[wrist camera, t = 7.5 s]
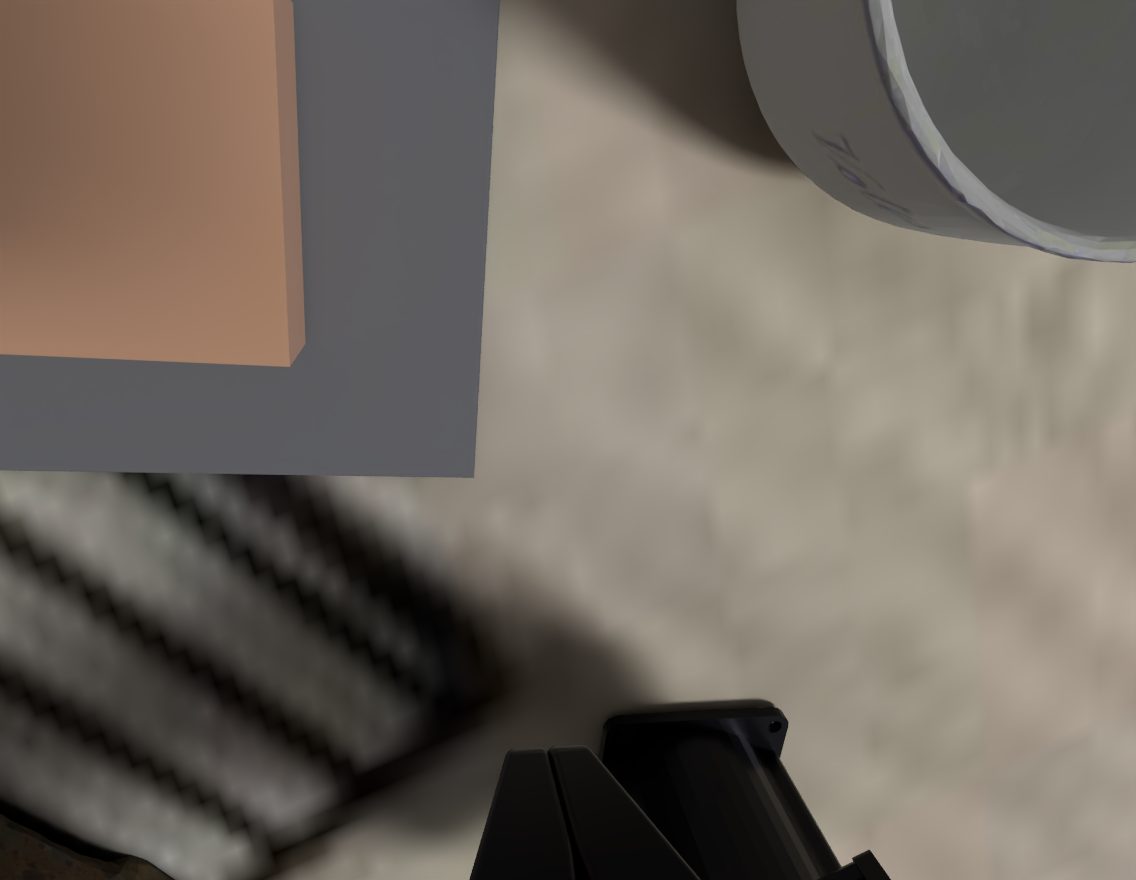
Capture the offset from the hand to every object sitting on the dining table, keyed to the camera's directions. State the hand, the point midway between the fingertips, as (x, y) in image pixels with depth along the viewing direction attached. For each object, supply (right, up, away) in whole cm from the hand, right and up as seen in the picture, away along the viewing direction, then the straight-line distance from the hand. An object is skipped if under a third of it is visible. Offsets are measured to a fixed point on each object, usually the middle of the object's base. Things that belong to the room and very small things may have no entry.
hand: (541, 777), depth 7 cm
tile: (-5, +9, +7) cm, 13 cm away
